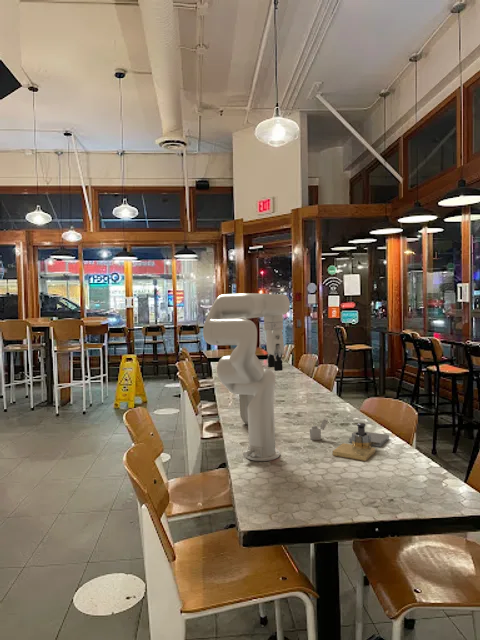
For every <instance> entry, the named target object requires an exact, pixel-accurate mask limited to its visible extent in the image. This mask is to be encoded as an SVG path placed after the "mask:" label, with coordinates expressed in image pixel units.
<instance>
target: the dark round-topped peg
mask: <svg viewBox="0 0 480 640" xmlns="http://www.w3.org/2000/svg"><path fill="white" fill-rule="evenodd" d="M356 426H357V431H358V435H361V436H363V435H365V432H366V429H365V428H366V423H365V422H357V423H356Z"/></svg>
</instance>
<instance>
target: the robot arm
mask: <svg viewBox="0 0 480 640" xmlns="http://www.w3.org/2000/svg"><path fill="white" fill-rule="evenodd" d="M290 302H291V301H290V299H289V297H288V295H286V294H279V293H277V294H276V293H275V294H274V293H273V294H272V293H255V292H254V293H253V292H252V293H249V292H247V293H246V292H243V293H226V294H224V293H223V294H220V295H219V296H217V297H216V298H215V300H214V302H213V303H212V305H211V307H210V309H209V312H208V314H207V317H206V318H205V322H204V324H203V329H202V336H203V339H204V341H205V342H206V343H207V344H209V345H211V346H236V347H235V348H234V349H233V350H232V351H231V353H230V355H225V356H222V357H221V358H220V359H219V360H218V362H217V366H216V373H217V378H218V380H219V381H220V383H221V384H222V385H223V386H224V387H225V389H227V390H228V392H229V393H231V394H234V395H239V394H245V395H254V398H253V399H252V400H251V402H250V403H249V405H248V424H247V427H248V428H247V429H248V446H247V450H245V451H244V452H243V453H242V456H243V458H246V459H248V460H251V461H253V462H269V461H274V460H276V459H278V458H279V457H280V455H281V451H280V450H279V449H278V448H276V431H275V429H276V428H275V426H276V425H275V389H276V374H275V373H274V372H279V371H283V355H284V354H285V345H284V336H283V335H284V334H283V331H284V319H283V317H284V316H283V315H286V314H287V313H288V312H289V310H290V304H291V303H290ZM255 318H263V321H264V322H263V325H264V327H263V328H264V329H263V330H264V331H265V332H266V337H265V338H266V352H267V368H264V366H263V364H262V362H261V361H260V359H259V358H258V356H257V355H256V352H257V343H258V329H257V325H256V324H255V323H254V321H252V320H250V319H255ZM268 368H269V369H268ZM270 368H274V371H272V370H270Z"/></svg>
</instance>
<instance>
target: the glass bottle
mask: <svg viewBox="0 0 480 640" xmlns="http://www.w3.org/2000/svg"><path fill="white" fill-rule="evenodd" d="M253 398H254V395H245V394H238V399H239V416H240V419H241V420H242V422H243V423H244V424H245V425H248V405H249V403H250V402H251V400H252V399H253Z"/></svg>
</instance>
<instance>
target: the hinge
mask: <svg viewBox="0 0 480 640" xmlns="http://www.w3.org/2000/svg"><path fill="white" fill-rule="evenodd" d="M348 439H349V441H348V443H341V444H339V446H337V447H336V448H335V449H333V450H332V456H333V457H334V456H335V457H340V458H346V459H352V460H357V461H363V462H367V461H368V460H369V459H370V458H371V457H372V456H373V455H374V454H375V453H376V448H375V447H378V448H381V447H382V446H384V445H385V444H386V443H387V441H389V439H390V434H386V433H385V434H384V433H376V432H368V431H365V435H363V436H361V435H358V430H357V431H354V432H352V433H351V436H350V437H349V438H348Z"/></svg>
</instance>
